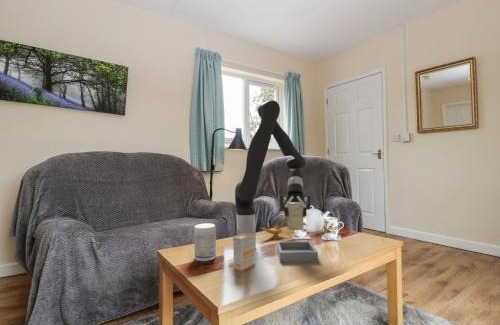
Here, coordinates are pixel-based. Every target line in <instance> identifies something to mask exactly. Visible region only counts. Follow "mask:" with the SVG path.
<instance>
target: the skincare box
mask: <svg viewBox="0 0 500 325" xmlns="http://www.w3.org/2000/svg"><path fill="white" fill-rule="evenodd" d="M286 203H287V217H286V218H287V229H288V230H290V231H291V232H292V231H303V230H304V217H303V203H301V202H286Z"/></svg>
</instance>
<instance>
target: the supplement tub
mask: <svg viewBox="0 0 500 325" xmlns="http://www.w3.org/2000/svg"><path fill="white" fill-rule="evenodd" d="M193 230H194V231H193V233H194V240H193V241H194V258H195V260H196V261H199V262H210V261H212V260H214V259H215V258H217V242H216V240H217V239H216V237H217V232H216V224H214V223H210V222H209V223H208V222H207V223H199V224H195V225H194V229H193ZM209 260H210V261H209Z"/></svg>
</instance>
